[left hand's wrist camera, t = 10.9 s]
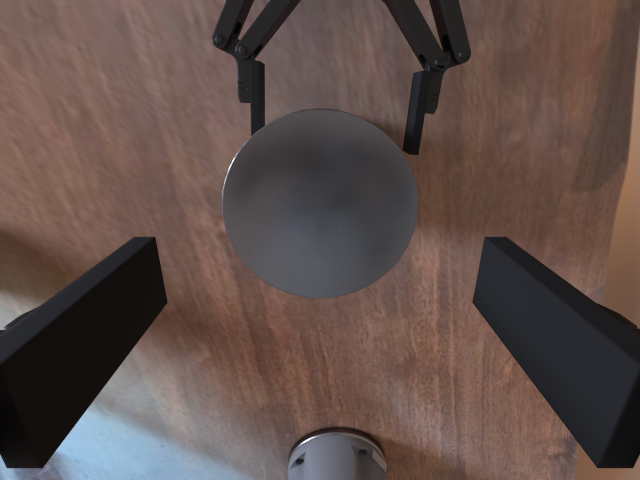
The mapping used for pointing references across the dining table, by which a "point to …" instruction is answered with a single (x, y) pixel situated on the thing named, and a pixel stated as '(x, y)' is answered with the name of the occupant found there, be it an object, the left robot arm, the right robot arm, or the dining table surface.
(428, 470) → the dining table surface
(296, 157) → the lid
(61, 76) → the dining table surface
